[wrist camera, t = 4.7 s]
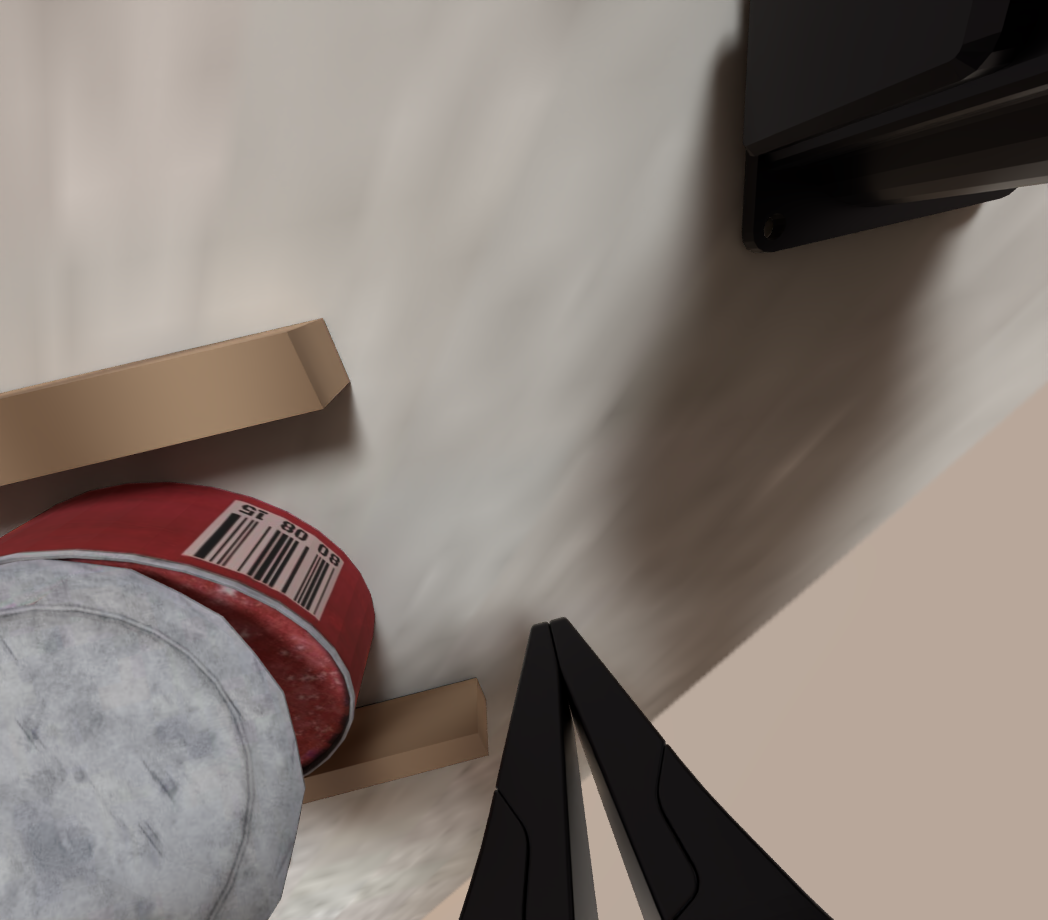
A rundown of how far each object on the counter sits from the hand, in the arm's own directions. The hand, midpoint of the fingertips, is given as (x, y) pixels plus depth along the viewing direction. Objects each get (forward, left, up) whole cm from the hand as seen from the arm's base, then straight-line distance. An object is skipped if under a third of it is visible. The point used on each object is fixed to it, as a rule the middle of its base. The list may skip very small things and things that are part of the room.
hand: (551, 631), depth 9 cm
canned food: (+10, 0, -4) cm, 11 cm away
